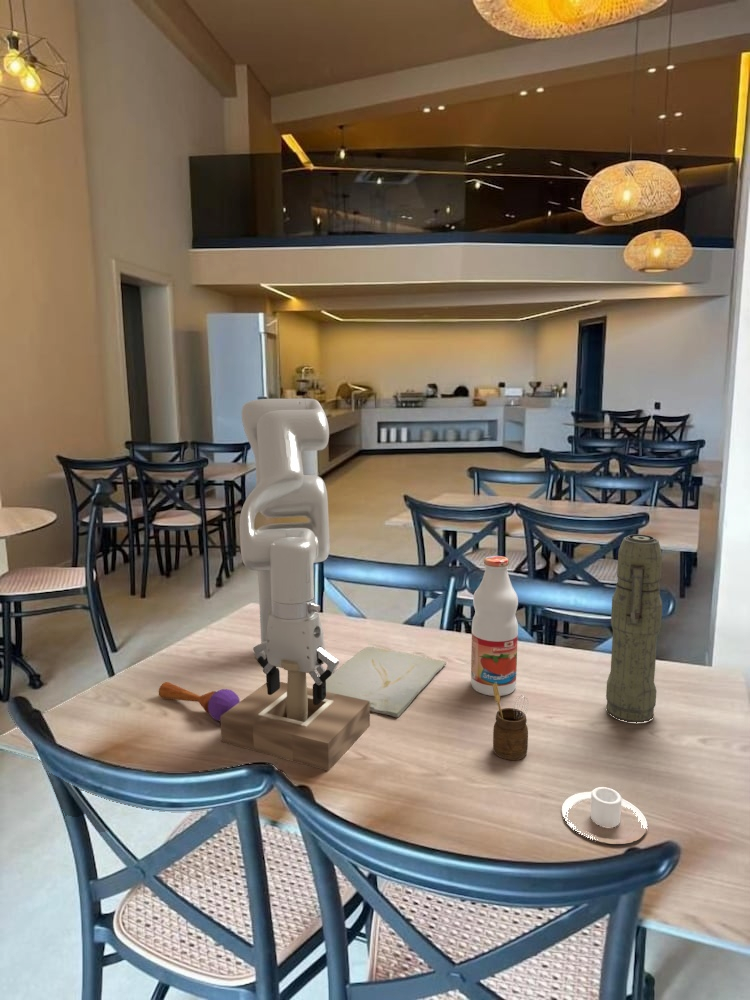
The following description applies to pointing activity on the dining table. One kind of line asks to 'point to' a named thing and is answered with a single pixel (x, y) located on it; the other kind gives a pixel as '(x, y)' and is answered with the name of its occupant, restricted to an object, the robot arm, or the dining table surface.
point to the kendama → (202, 698)
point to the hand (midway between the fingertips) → (296, 696)
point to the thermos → (635, 630)
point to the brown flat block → (296, 726)
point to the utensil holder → (510, 731)
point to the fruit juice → (494, 630)
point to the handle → (296, 692)
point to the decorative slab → (384, 678)
